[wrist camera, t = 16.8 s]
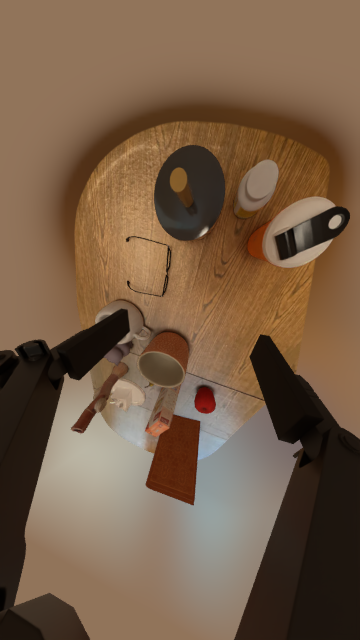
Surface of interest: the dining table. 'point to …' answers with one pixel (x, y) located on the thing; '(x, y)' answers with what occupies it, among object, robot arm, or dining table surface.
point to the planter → (164, 360)
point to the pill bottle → (255, 189)
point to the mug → (134, 319)
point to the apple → (205, 400)
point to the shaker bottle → (298, 232)
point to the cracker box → (163, 411)
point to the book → (176, 460)
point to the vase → (100, 398)
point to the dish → (127, 394)
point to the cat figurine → (118, 352)
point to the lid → (189, 192)
